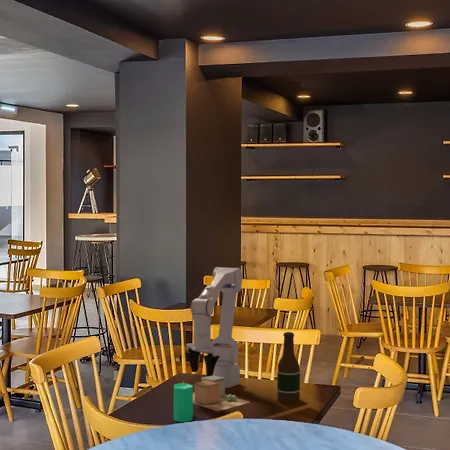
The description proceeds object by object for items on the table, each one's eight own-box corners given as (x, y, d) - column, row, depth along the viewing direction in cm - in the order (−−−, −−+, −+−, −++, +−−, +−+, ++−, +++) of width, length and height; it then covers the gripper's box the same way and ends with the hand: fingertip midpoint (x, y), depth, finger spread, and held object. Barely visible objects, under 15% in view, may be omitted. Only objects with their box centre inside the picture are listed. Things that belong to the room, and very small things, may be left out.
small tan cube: (207, 397, 235) (207, 380, 235) (218, 401, 231) (218, 383, 231) (194, 400, 231) (194, 383, 231) (205, 404, 227) (205, 386, 227)
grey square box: (213, 391, 243) (213, 374, 243) (224, 395, 239) (224, 377, 239) (201, 394, 239) (201, 377, 239) (212, 398, 235) (212, 380, 235)
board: (207, 391, 246) (207, 388, 246) (250, 405, 230) (250, 401, 230) (174, 399, 236) (174, 396, 236) (217, 414, 220) (217, 410, 220)
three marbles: (230, 398, 235) (230, 393, 235) (237, 400, 232) (237, 395, 232) (222, 400, 232) (222, 395, 232) (230, 402, 230) (230, 397, 230)
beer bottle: (302, 401, 235) (302, 331, 235) (297, 407, 228) (297, 335, 227) (280, 399, 238) (280, 329, 237) (274, 405, 230) (274, 334, 230)
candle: (173, 416, 218) (173, 378, 218) (192, 415, 219) (192, 378, 218) (173, 422, 212) (173, 383, 212) (193, 421, 213) (193, 383, 212)
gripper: (179, 332, 235) (179, 371, 235) (207, 338, 225) (207, 379, 225) (194, 329, 240) (194, 368, 240) (223, 335, 229) (223, 376, 230)
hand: (202, 373), depth 233 cm, fingers open, 7 cm apart
